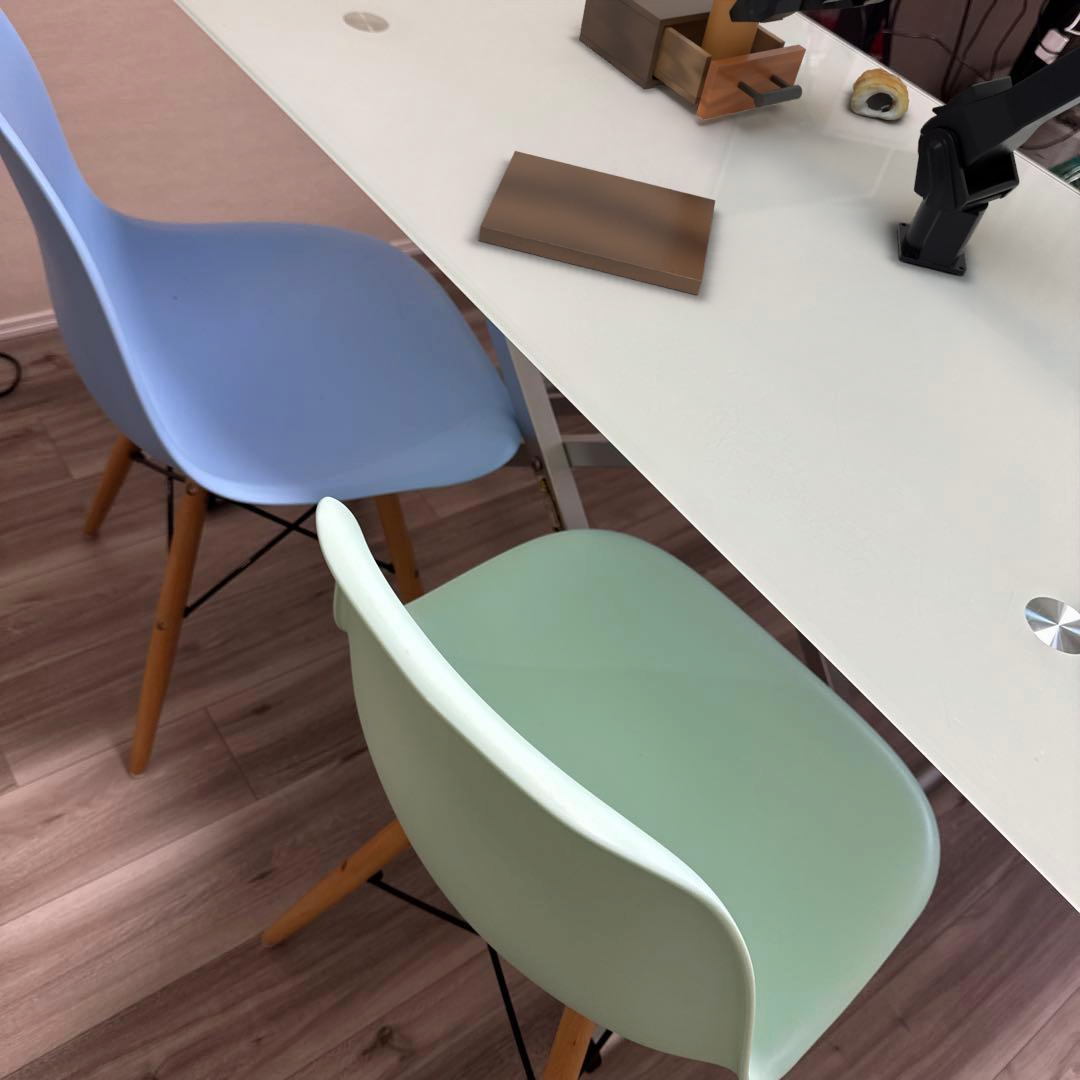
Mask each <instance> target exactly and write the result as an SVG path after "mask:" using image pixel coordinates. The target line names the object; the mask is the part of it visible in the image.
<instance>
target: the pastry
mask: <svg viewBox="0 0 1080 1080" xmlns="http://www.w3.org/2000/svg"><path fill="white" fill-rule="evenodd" d="M852 91H853V93H852V96H851V99H850V109H851V110H852V111H853V112H854V113H855V114H857V115H860V116H864V117H867V118H868V117H869V118H880V119H882V120H884V121H885V120H886V121H897V120H899V119H900V118H902V117H903V116H904V115H905V114H906V113H907V112H908V110H909V103H910V99H909V90H908V86H907V84H905V83H904V82H903V81H902V79H901V78H900V77H899V76H897V75H896V74H894V73H890V72H888V71H887V70H885V69H883V68H873V69H867V70H865V71H863V73H861V75H859V77H857V79H856V80H855V81H854V83H853V85H852Z"/></svg>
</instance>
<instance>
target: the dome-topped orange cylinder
mask: <svg viewBox="0 0 1080 1080" xmlns="http://www.w3.org/2000/svg"><path fill="white" fill-rule="evenodd" d="M736 1H737V0H713V4H712V8H711V11H710V15H709V19H708V23H707V26H706V30H705V34H704V38H703V41H702V45H701V48H702V49H703V50H705V51H706V52H708V53H709V54H710V55H712V59H711V61H716V60H721V59H727V58H732V57H737V56H742V55H747V54H750V51H751V48H752V45H753V42H754V38H755V35H756V32H757V28H758V25H760V22H732V21H731V19H730V15H729V11H730V9H731V8H732V6H733V5H734V4H735V2H736ZM710 64H711V62H710ZM709 67H710V66H709ZM708 71H709V69H708ZM707 74H708V73H707ZM706 78H707V77H706ZM705 82H706V80H705Z"/></svg>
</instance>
